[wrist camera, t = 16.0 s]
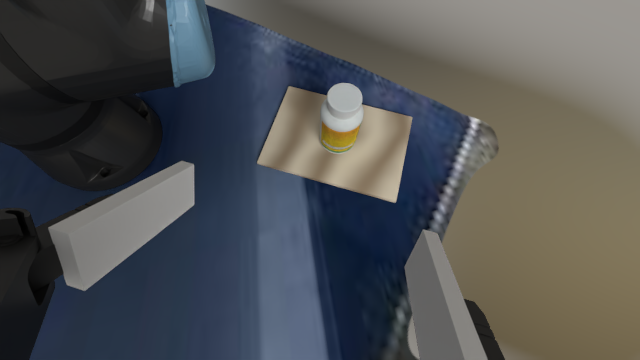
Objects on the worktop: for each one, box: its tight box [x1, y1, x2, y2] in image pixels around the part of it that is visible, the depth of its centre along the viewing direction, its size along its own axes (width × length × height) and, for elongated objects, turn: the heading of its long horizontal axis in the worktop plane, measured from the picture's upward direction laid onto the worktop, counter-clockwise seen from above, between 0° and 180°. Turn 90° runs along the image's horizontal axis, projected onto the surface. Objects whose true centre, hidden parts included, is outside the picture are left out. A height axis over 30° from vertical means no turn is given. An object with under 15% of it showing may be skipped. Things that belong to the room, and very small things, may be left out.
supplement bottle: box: [319, 83, 364, 154], centre depth 33 cm, size 5×5×10 cm
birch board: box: [257, 86, 412, 203], centre depth 38 cm, size 20×14×1 cm
